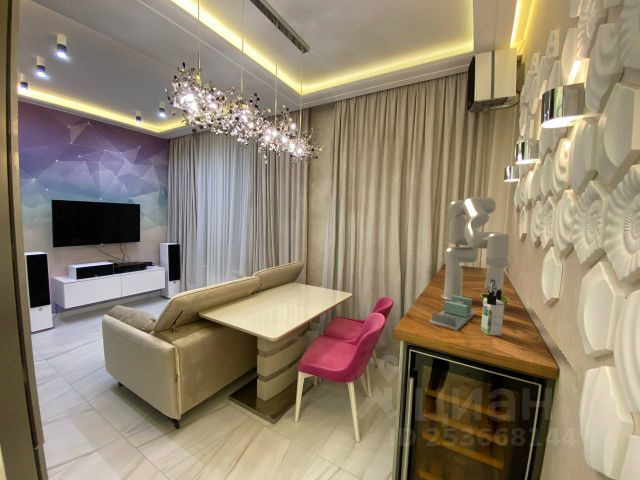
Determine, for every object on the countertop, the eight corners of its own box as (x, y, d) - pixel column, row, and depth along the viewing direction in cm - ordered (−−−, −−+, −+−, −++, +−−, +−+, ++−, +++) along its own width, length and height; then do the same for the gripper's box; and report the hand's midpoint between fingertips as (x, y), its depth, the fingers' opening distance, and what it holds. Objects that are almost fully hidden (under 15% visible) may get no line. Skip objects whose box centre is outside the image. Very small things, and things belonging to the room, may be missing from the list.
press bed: (450, 308, 144) (450, 300, 144) (474, 314, 136) (475, 305, 135) (429, 322, 124) (430, 313, 124) (456, 330, 116) (457, 320, 116)
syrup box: (480, 329, 118) (482, 297, 116) (493, 329, 117) (496, 298, 116) (487, 335, 112) (490, 302, 111) (502, 335, 112) (504, 302, 110)
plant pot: (473, 314, 135) (474, 293, 134) (494, 314, 136) (496, 292, 135) (490, 324, 123) (491, 301, 122) (513, 323, 124) (515, 300, 123)
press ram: (451, 305, 143) (452, 294, 142) (472, 310, 136) (473, 299, 135) (443, 311, 134) (444, 299, 134) (465, 316, 127) (466, 304, 127)
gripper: (491, 259, 120) (488, 296, 122) (481, 263, 108) (478, 304, 109) (511, 261, 115) (508, 299, 116) (503, 266, 103) (500, 309, 104)
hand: (494, 302), depth 113 cm, fingers open, 9 cm apart
